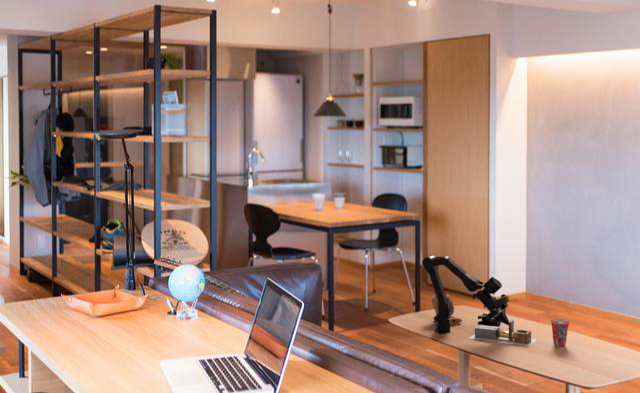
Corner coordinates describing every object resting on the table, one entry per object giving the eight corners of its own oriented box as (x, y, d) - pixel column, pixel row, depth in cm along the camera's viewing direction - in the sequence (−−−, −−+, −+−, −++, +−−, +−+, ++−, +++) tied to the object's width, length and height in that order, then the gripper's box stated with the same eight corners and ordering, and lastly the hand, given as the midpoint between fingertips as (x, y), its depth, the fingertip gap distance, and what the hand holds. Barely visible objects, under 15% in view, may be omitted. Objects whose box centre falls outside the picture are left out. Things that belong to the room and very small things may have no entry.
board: (468, 338, 393) (468, 338, 393) (477, 332, 404) (477, 332, 404) (529, 346, 378) (529, 346, 378) (536, 340, 390) (536, 339, 390)
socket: (513, 342, 385) (513, 332, 385) (517, 338, 391) (517, 329, 391) (527, 344, 382) (527, 334, 382) (531, 340, 388) (531, 330, 388)
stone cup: (427, 321, 429) (427, 293, 428) (445, 318, 435) (445, 290, 433) (444, 327, 416) (444, 298, 414) (462, 324, 422) (463, 296, 420)
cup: (569, 349, 374) (570, 323, 373) (551, 348, 376) (551, 323, 375) (567, 343, 383) (568, 318, 382) (549, 342, 385) (549, 318, 384)
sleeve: (474, 337, 395) (474, 327, 395) (478, 334, 401) (478, 324, 400) (495, 339, 390) (495, 330, 389) (499, 336, 395) (499, 327, 395)
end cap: (501, 329, 411) (501, 316, 411) (491, 331, 407) (491, 318, 407) (487, 325, 420) (487, 312, 419) (477, 327, 416) (477, 314, 415)
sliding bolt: (487, 337, 393) (487, 319, 392) (490, 335, 397) (490, 317, 396) (522, 341, 384) (522, 323, 384) (524, 339, 388) (524, 321, 387)
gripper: (493, 293, 382) (515, 318, 378) (504, 286, 398) (526, 310, 394) (476, 308, 387) (499, 333, 382) (489, 300, 403) (510, 324, 398)
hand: (509, 324), depth 389 cm, fingers closed, pressing on sliding bolt
